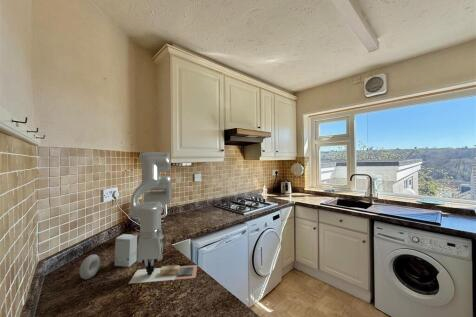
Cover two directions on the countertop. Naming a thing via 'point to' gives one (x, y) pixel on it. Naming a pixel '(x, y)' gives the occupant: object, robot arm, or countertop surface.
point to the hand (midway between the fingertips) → (150, 273)
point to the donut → (85, 265)
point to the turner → (176, 271)
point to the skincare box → (125, 250)
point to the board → (158, 275)
